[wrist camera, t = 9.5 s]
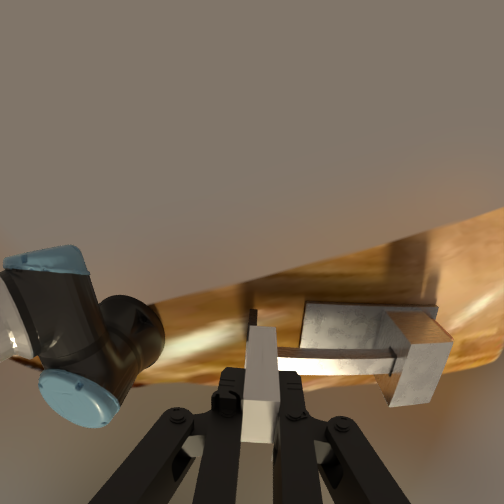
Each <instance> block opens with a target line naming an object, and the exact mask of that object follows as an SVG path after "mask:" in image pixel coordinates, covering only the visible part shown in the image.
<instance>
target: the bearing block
mask: <svg viewBox="0 0 504 504" xmlns="http://www.w3.org/2000/svg"><path fill="white" fill-rule="evenodd" d="M438 308H439V307H438V306H437V305H396V304H361V303H336V302H315V301H306V304H305V311H304V319H303V325H302V332H301V339H300V345H299V348H319V349H391V348H392V349H393V351H394V352H395V354H396V355H397V359H396V363H395V366H394V369H393V372H392V373H390V374H373V375H374V377H375V379H376V381H377V383H378V385H379V387H380V390H381V391H382V394H383V396H384V398H385V400H386V402H387V404H388V407H396V406H404V405H414V404H421V403H428V402H430V399H431V397H432V395H433V393H434V391H435V388H436V386H437V384H438V381H439V379H440V377H441V374H442V372H443V369H444V367H445V364H446V361H447V359H448V356H449V353H450V351H451V348H452V345H453V341H452V340H451V339H450V338H449V337H448V336H447V335H446V334H445V333H444V332H443V331H442V330H441V329H440V328H439V327H438V326H437V325H436V324H435V323H434V322H433V321H432V320H431V319H434V320H435V319H436V316H437V312H438Z"/></svg>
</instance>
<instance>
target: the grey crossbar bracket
mask: <svg viewBox="0 0 504 504" xmlns="http://www.w3.org/2000/svg"><path fill="white" fill-rule="evenodd" d="M257 311H258V310H257V309H250V313H249V322H248V332H247V342H246V356H245V369H246V362H247V351H248V341H249V330H250V326H257ZM277 354H278V370H287V371H296V372H297V373H298V374H299V375H367V374H390V373H392V372H393V369H394V366H395V363H396V359H397V355H396V354H395V352H394V351H393V349H392V348H391V349H319V348H291V347H277Z"/></svg>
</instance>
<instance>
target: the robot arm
mask: <svg viewBox="0 0 504 504" xmlns="http://www.w3.org/2000/svg"><path fill="white" fill-rule="evenodd" d="M3 268H4V269H5V270H4V271H2V272H0V362H2V361H4V360H5V359H7V358H9V357H11V356H13V355H19V356H22V357H25V358H27V359H32V358H34V357H35V356H37V355H38V356H39V358H40V360H41V362H42V365H43V367H44V369H45V370H44V371H42V373H41V374H40V378H39V383H38V386H39V390H40V392H41V394H42V396H43V398H44V399H45V401H46V402H47V403H48V404H49V406H50V407H51V408H52V409H53V410H54V411H56V412H57V413H58V414H60V415H61V416H62V417H64V418H66V419H67V420H69V421H70V422H72V423H75V424H77V425H80V426H83V427H88V428H100V427H103V426H105V425H107V424H108V423H109V422H110V421H111V420H112V418H113V417H114V415H115V414H116V413H117V412H118V411H119V409H120V407H121V405H122V403H123V401H124V399H125V397H126V396H127V394H128V392H129V390H130V388H131V386H132V384H133V383H134V381H135V379H136V377H137V375H138V374H139V373H140V372H141V371H143V370H144V369H146V368H148V367H150V366H151V365H153V364H154V363H155V362H156V361H157V360H158V358H159V356H160V354H161V353H162V351H163V348H164V344H165V334H164V330H163V327H162V324H161V322H160V320H159V319H158V317H157V316H156V314H155V313H154V312H153V311H152V310H151V309H150V308H149V307H148V306H147V305H146V304H144V303H143V302H141V301H139V300H137V299H135V298H133V297H130V296H125V295H114V296H110V297H108V298H106V299H104V300H103V301H102V302H101V303H99V304H98V301H97V298H96V295H95V292H94V289H93V286H92V282H91V279H90V276H89V275H90V272H89V271H87V268H86V265H85V262H84V259H83V256H82V253H81V251H80V250H79V249H78V248H77V247H76V246H73V245H64V246H58V247H52V248H47V249H42V250H37V251H32V252H27V253H23V254H18V255H14V256H10V257H6V258H4V260H3ZM211 405H212V407H211V410H210V411H208V412H206V413H202V414H194V415H193V414H192V413H191V412H190V411H189V410H187V409H185V408H180V407H176V408H171V409H168V410H166V411H165V412H164V413H163V414H162V415H161V417H160V418H159V419H158V420H157V422H156V423H155V424H154V425H153V427H152V428H151V429H150V430H149V431H148V433H147V434H146V435H145V436H144V438H143V439H142V440H141V441H140V442H139V444H138V445H137V446H136V447H135V449H134V450H133V451H132V452H131V453H130V455H129V456H128V457H127V458H126V459H125V461H124V462H123V463H122V464H121V465H120V467H119V468H118V469H117V470H116V471H115V472H114V474H113V475H112V476H111V477H110V479H109V480H108V481H107V482H106V483H105V484H104V485H103V487H102V488H101V489H100V490H99V491H98V492H97V494H96V495H95V496H94V497H93V498H92V500H91V501H90V502H89V503H88V504H168V503H169V501H170V499H171V498H172V496H173V494H174V493H175V491H176V490H177V488H178V487H179V485H180V483H181V482H182V480H183V478H184V477H185V475H186V474H187V472H188V470H189V469H190V467H191V465H192V464H193V462H194V460H195V458H196V457H199V456H202V459H201V464H200V468H199V473H198V478H197V483H196V488H195V493H194V498H193V503H192V504H235V502H236V491H237V480H238V479H237V478H238V469H239V457H240V444H241V441H243V442H258V443H273V441H274V448H273V453H272V459H271V461H273V504H323V502H322V495H321V487H320V480H319V473H320V474H321V477H322V479H323V481H324V483H325V485H326V487H327V489H328V491H329V493H330V495H331V497H332V499H333V501H334V503H335V504H411V503H410V502H409V500H408V499H407V497H406V496H405V495H404V493H403V492H402V490H401V489H400V487H399V486H398V484H397V483H396V481H395V480H394V478H393V477H392V475H391V474H390V472H389V471H388V470H387V468H386V467H385V465H384V464H383V462H382V461H381V459H380V458H379V456H378V455H377V453H376V452H375V450H374V449H373V447H372V446H371V445H370V443H369V442H368V440H367V439H366V437H365V436H364V434H363V433H362V431H361V430H360V428H359V427H358V425H357V424H356V423H355V422H354V421H353V420H352V419H350V418H348V417H344V416H336V417H334V418H331V419H330V420H329V421H328V422H325V421H321V420H318V419H315V418H313V417H311V416H310V415H309V412H308V411H306V408H305V401H304V394H303V388H302V382H301V377H300V375H299V374H298V373H297V372H296V371H287V370H278V354H277V339H276V327H264V326H250V330H249V341H248V351H247V362H246V369H244V368H232V367H226V368H225V369H224V370H223V371H222V372H221V377H220V381H219V386H218V390H217V391H216V392H214V393H213V395H212V397H211ZM318 470H319V472H318Z"/></svg>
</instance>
